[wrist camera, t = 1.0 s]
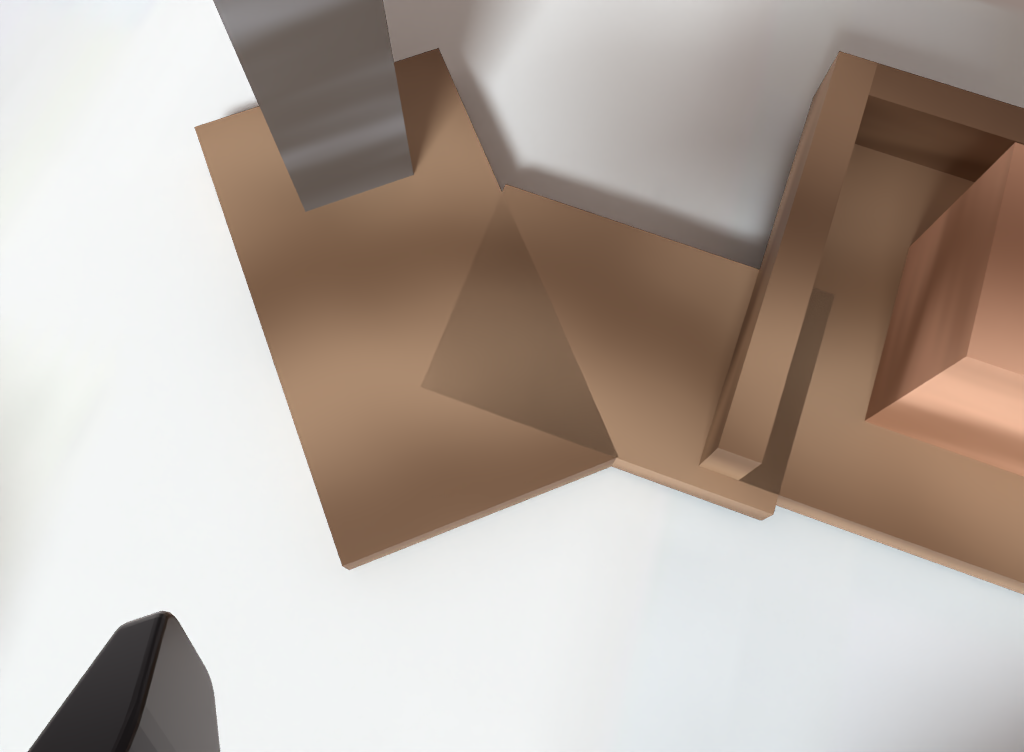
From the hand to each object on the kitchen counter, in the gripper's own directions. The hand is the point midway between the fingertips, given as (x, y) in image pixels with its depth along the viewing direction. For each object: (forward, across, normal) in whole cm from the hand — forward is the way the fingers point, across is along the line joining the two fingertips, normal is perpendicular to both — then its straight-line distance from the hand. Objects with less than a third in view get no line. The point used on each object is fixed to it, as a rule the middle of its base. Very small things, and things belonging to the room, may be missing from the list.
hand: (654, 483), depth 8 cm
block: (+10, -12, +8) cm, 18 cm away
